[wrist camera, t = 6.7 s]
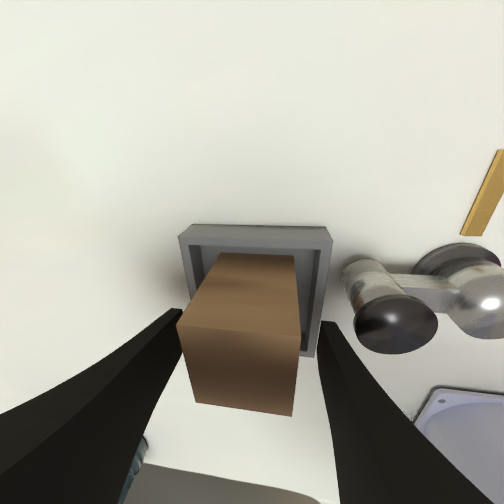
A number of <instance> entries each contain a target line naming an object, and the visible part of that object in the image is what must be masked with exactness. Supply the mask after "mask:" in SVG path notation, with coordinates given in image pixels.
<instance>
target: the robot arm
mask: <svg viewBox="0 0 504 504" xmlns="http://www.w3.org/2000/svg"><path fill="white" fill-rule="evenodd" d="M182 314H183V311H182V309H175V308H171V309H170V310H168V311H167V312H166V313H164V314H163V315H162V316H160V317H159V318H158V319H157V320H155V321H154V322H153V323H151V324H150V325H149V326H148V327H146V328H145V329H144V330H142V331H141V332H140V333H138V334H137V335H136V336H135V337H133V338H132V339H130V340H129V341H128V342H126V343H125V344H123V345H122V346H121V347H119V348H118V349H116V350H115V351H114V352H112V353H111V354H109V355H108V356H106V357H105V358H103V359H102V360H100V361H99V362H97V363H95V364H94V365H92V366H91V367H89V368H87V369H86V370H84V371H82V372H81V373H79V374H77V375H75V376H74V377H72V378H70V379H68V380H67V381H65V382H63V383H61V384H59V385H58V386H56V387H54V388H52V389H50V390H49V391H47V392H45V393H43V394H41V395H39V396H37V397H35V398H33V399H31V400H29V401H27V402H25V403H23V404H21V405H19V406H17V407H15V408H13V409H11V410H9V411H6V412H4V413H2V414H0V504H117V503H118V500H119V497H120V494H121V492H122V489H123V486H124V483H125V481H126V478H127V475H128V473H129V470H130V467H131V464H132V462H133V459H134V457H135V454H136V451H137V449H138V446H139V444H140V441H141V439H142V436H143V434H144V431H145V429H146V427H147V424H148V422H149V419H150V417H151V415H152V412H153V410H154V408H155V406H156V404H157V402H158V400H159V398H160V396H161V394H162V392H163V390H164V388H165V386H166V384H167V382H168V380H169V378H170V376H171V375H172V373H173V371H174V369H175V367H176V365H177V363H178V361H179V359H180V357H181V355H182V352H183V351H182V347H181V343H180V339H179V335H178V331H177V327H176V324H177V322H178V321H179V319H180V317H181V316H182ZM317 359H318V369H319V375H320V380H321V385H322V390H323V395H324V399H325V404H326V409H327V414H328V419H329V423H330V429H331V434H332V440H333V448H334V456H335V464H336V471H337V480H338V488H339V497H340V504H504V396H503V395H494V394H486V393H477V392H469V391H460V390H451V389H441V388H440V389H437V390H435V391H434V393H433V394H432V396H431V397H430V399H429V401H428V402H427V404H426V406H425V407H424V409H423V410H422V412H421V414H420V415H419V417H418V418H417V420H416V422H415V423H414V424H413V423H412V422H411V421H410V420H409V419H408V418H407V417H406V415H405V414H404V413H403V412H402V411H401V410H400V409H399V408H398V406H397V405H396V404H395V403H394V402H393V401H392V400H391V398H390V397H389V396H388V395H387V394H386V392H385V391H384V390H383V389H382V387H381V386H380V385H379V384H378V382H377V381H376V380H375V379H374V377H373V376H372V375H371V374H370V372H369V371H368V370H367V368H366V367H365V366H364V364H363V363H362V361H361V360H360V359H359V357H358V356H357V355H356V353H355V352H354V350H353V349H352V347H351V346H350V344H349V343H348V341H347V340H346V338H345V337H344V335H343V334H342V332H341V330H340V329H339V327H338V326H337V324H336V323H335V322H331V321H321V326H320V332H319V338H318V344H317Z"/></svg>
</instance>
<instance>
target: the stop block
mask: <svg viewBox="0 0 504 504" xmlns="http://www.w3.org/2000/svg"><path fill="white" fill-rule="evenodd" d="M176 327H177V331H178V335H179V339H180V343H181V347H182V351H183V355H184V358H185V362H186V366H187V370H188V374H189V378H190V382H191V386H192V390H193V394H194V398H195V402H196V403H203V404H210V405H216V406H223V407H230V408H237V409H243V410H250V411H257V412H264V413H270V414H277V415H284V416H290V417H292V411H293V403H294V394H295V386H296V377H297V369H298V360H299V351H300V343H301V329H300V318H299V307H298V296H297V284H296V273H295V262H294V255H271V254H248V253H224V252H221V253H220V255H219V256H218V258H217V259H216V261H215V263H214V264H213V266H212V267H211V269H210V271H209V272H208V274H207V276H206V277H205V279H204V280H203V282H202V284H201V285H200V287H199V288H198V290H197V292H196V293H195V295H194V296H193V298H192V300H191V301H190V303H189V305H188V306H187V308H186V309H185V311H184V313H183V314H182V316H181V317H180V319H179V321H178V322H177V324H176Z"/></svg>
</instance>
